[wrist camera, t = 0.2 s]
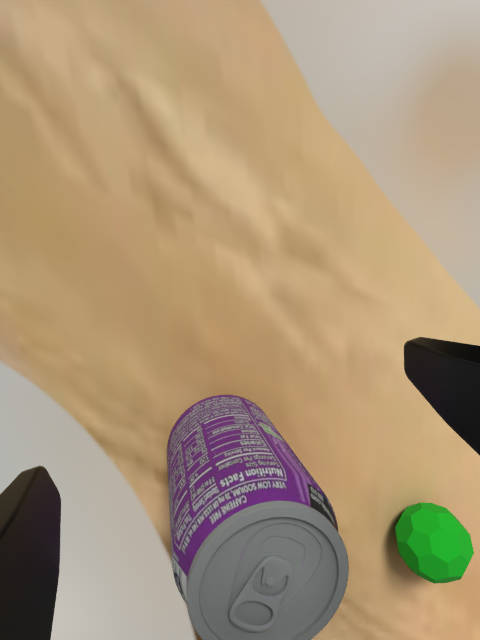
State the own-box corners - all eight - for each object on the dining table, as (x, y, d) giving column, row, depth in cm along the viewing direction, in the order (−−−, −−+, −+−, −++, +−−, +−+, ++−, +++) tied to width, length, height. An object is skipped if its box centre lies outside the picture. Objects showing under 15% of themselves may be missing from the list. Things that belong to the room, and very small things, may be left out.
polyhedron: (370, 526, 29) (410, 575, 24) (412, 478, 29) (460, 517, 24) (409, 560, 30) (454, 613, 25) (449, 514, 30) (502, 557, 26)
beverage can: (239, 506, 26) (303, 692, 15) (147, 468, 25) (135, 644, 13) (288, 417, 26) (392, 533, 15) (200, 373, 24) (236, 464, 13)
